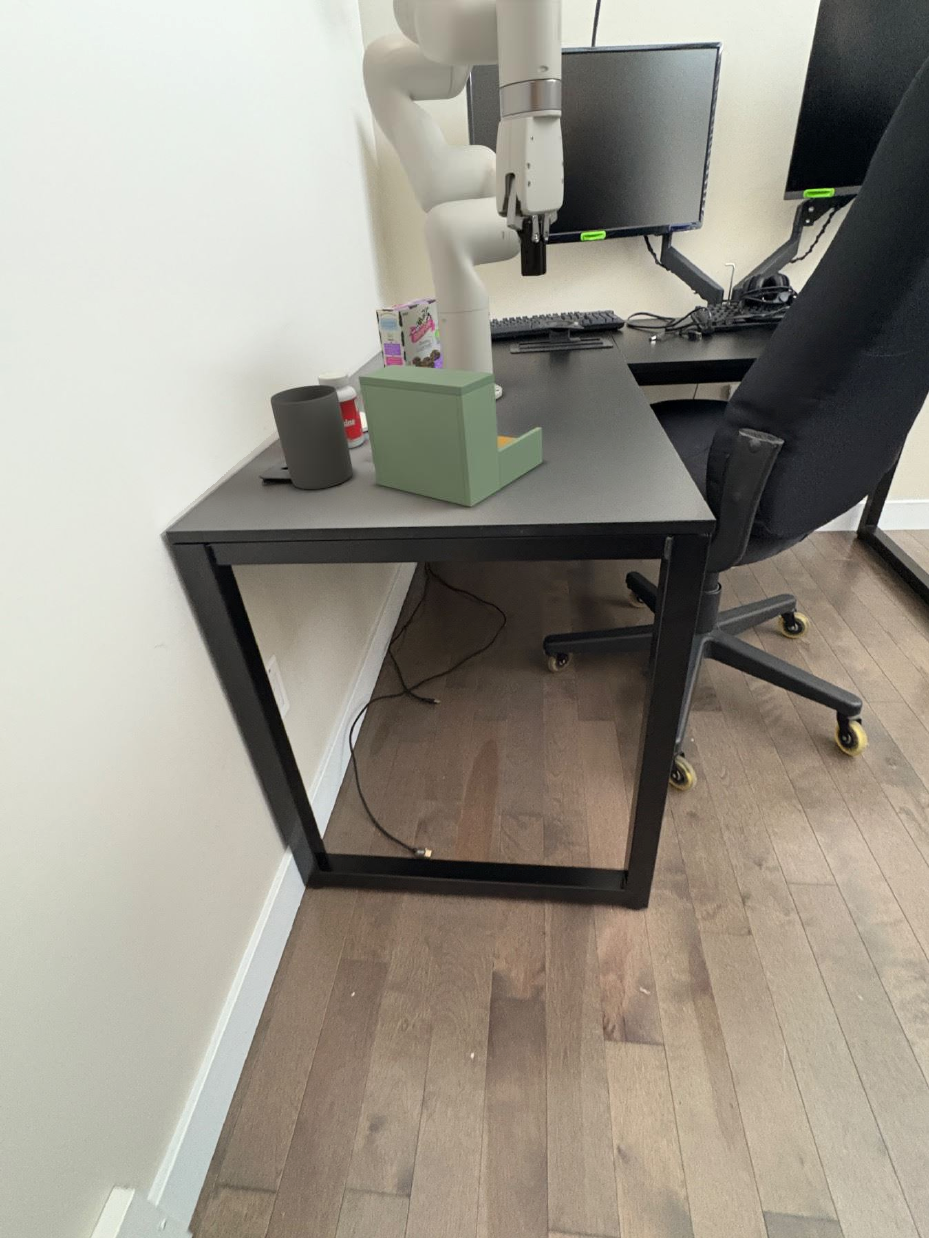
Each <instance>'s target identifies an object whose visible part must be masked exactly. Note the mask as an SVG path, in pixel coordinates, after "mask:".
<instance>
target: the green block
mask: <svg viewBox="0 0 929 1238" xmlns="http://www.w3.org/2000/svg"><path fill="white" fill-rule="evenodd" d="M358 381H359V387H360V393H361V398H362V405H363V410H364V413H365V416H366V422H367V427H368V430H367V432H368V438H369V442H370V449H371V454H372V459H373V460H372V461H373V467H374V472H375V477H376V483H377V485H379V486H382V487H387V488H392V489H395V490H399V491H404V492H408V493H411V494H416V495H419V496H425V497H428V498H432V499H435V500H436V499H437V500H441V501H444V502H449V503H452V504H458V505H462V506H465V507H469V508H472V507H474V506H475V505H477V504H478V503H480V502H482V501H484V500H485V499H487V498H489V497H490V496H491V495H493V494H494V493H496V492H498V491H500V490H501V489H502V488H504V487H506V486H507V485H509V484H511V483H512V482H514V481H515V480H517V479H518V478H520V477H521V476H523V475H525V474H527V473H528V472H529V471H531V470H533V469H534V468H536V467H537V466H539V465H540V464H542V463H543V427H539V426H536V427H534V428H533V429H531V430H529V431H527V432H526V433H524V434H522V435H521V436H519V437H516V438H517V439H515V440H513V441H511V442H509V443H507V444H506V445H504V446H502V447H500V448H498V436H499V435H498V419H497V403H496V400H497V399H496V400H495V384H496V383H495V373H494V372H493V373H484V372H473V371H461V370H450V369H438V368H427V367H415V366H403V365H390V366H387V367H384V366H383V367H382V368H381V367H380V368H379V369H376V370H375V369H374V370H372V371H370V372H367V373H364V374H361V375H358Z"/></svg>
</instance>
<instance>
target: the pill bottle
mask: <svg viewBox="0 0 929 1238" xmlns="http://www.w3.org/2000/svg"><path fill="white" fill-rule="evenodd" d="M348 374H349V373H348V372H347V371H341V370H340V371H339V370H337V371H329V372H325V373H321V374H319V375H318V376H317V381H318V385H327V386H332V387H334V388H335V389H336V391H337V394H338V399H339V403H340V407H341V412H342V416H343V421H344V426H345V431H346V436H347V441H348V446H349V450H350V449H354V448H357V447H359V446H361V445H362V444H363V443H364V441H365V437H364V432H363V430H362V424H361V418H360V412H361V411H360V408H359V401H358V396H357V392H356V390H355V389H354V388H353V387H352V386H351V385H349V384H350V378H349V375H348Z"/></svg>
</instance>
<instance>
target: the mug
mask: <svg viewBox="0 0 929 1238" xmlns="http://www.w3.org/2000/svg"><path fill="white" fill-rule="evenodd" d="M270 405H271V410H272V415H273V418H274V422H275V426H276V431H277V433H278V434H277V435H278V437H279V442H280V445H281V449H282V452H283V456H284V461H285V463H286V467H287V470H288V474H289V477H290V480H291V482H292V484H293V485H294V487H296V488H298V489H304V490H321V489H327V488H331V487H334V486H338V485H340V484H342V483H344V482H346V481H348V480H349V479H350V478H351V477H352V476H353V463H352V458H351V452H350V449H349V446H348V441H347V436H346V431H345V426H344V421H343V416H342V412H341V407H340V403H339V399H338V394H337V391H336V389H335V388H334V387H332V386H327V385H319V384H313V385H303V386H297V387H293V388H289V389H285V390H282V391H279V392H277V393H275V394H273V395H272V396H271V397H270Z"/></svg>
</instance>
